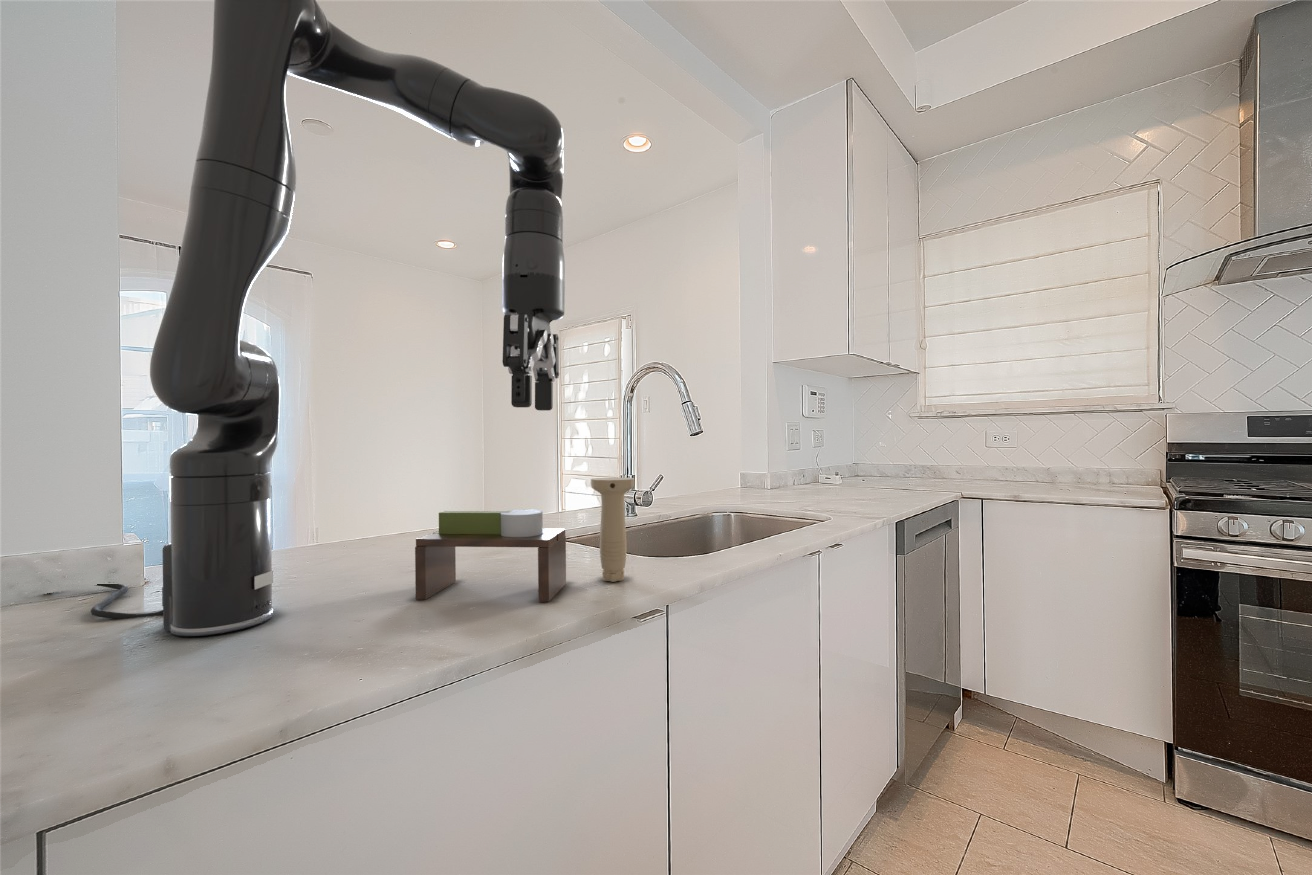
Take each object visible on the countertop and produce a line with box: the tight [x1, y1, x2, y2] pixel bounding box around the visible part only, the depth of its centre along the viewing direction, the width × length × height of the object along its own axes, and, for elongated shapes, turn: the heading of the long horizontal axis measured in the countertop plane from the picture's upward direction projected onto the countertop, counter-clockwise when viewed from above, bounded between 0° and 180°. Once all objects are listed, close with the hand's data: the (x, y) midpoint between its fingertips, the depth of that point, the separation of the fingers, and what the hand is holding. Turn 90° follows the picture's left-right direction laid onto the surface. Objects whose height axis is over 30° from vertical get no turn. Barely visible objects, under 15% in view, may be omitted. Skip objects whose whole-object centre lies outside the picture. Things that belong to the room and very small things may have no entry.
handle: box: [590, 477, 635, 583], centre depth 83 cm, size 5×6×15 cm
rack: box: [414, 528, 567, 603], centre depth 77 cm, size 18×9×8 cm, turn 85°
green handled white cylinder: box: [438, 508, 544, 537], centre depth 77 cm, size 14×6×3 cm, turn 85°
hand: (533, 408), depth 70 cm, fingers open, 8 cm apart
